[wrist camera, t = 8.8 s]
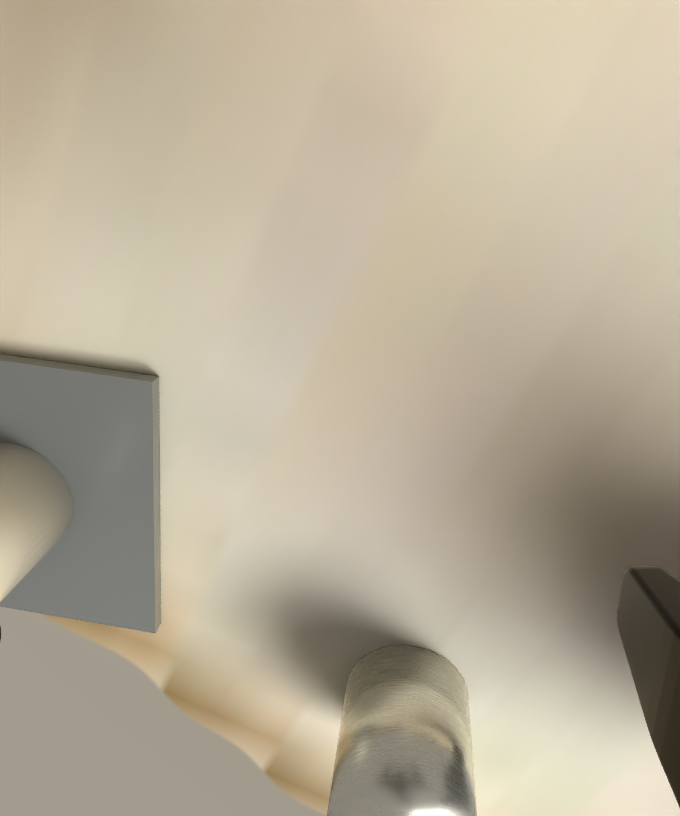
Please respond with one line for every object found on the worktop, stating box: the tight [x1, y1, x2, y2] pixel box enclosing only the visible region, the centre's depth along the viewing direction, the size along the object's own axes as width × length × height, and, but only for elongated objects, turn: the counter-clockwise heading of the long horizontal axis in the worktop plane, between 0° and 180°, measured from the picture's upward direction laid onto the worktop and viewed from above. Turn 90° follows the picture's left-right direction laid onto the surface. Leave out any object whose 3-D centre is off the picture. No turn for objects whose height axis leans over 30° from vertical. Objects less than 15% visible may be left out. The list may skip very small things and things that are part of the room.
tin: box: [327, 645, 477, 816], centre depth 24 cm, size 5×5×6 cm
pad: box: [0, 354, 161, 633], centre depth 25 cm, size 11×11×1 cm
